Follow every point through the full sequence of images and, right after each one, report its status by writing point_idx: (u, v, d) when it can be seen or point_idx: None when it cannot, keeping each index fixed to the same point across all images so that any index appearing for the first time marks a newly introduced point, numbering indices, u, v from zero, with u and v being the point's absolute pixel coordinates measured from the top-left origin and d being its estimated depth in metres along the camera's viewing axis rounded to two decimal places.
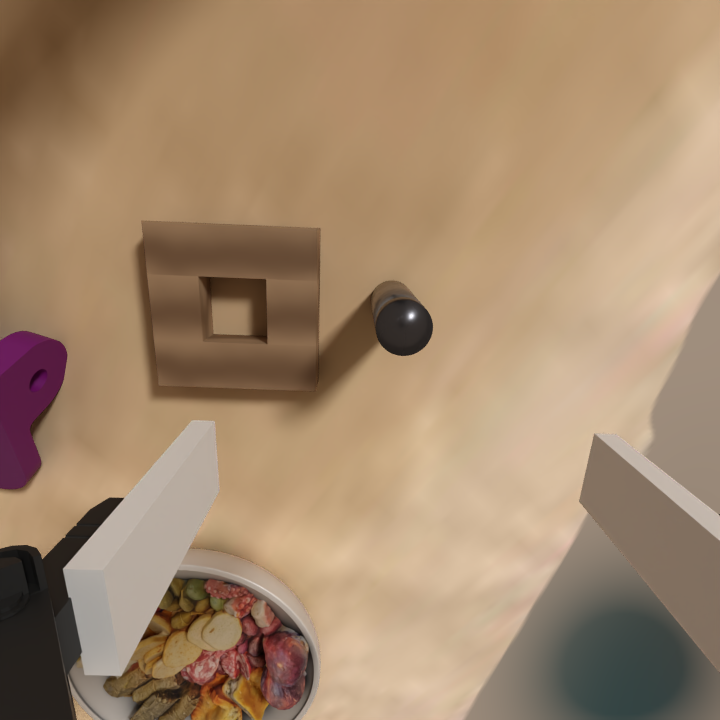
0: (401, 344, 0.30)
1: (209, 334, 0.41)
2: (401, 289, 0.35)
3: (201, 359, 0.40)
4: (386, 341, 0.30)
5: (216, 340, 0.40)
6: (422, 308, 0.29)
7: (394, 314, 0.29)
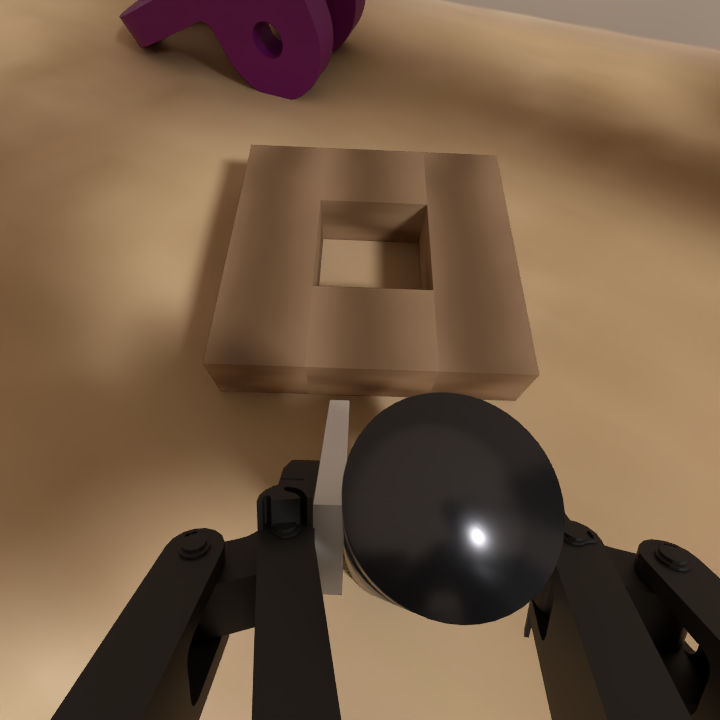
0: (387, 484, 0.08)
1: (326, 225, 0.25)
2: None
3: (290, 195, 0.24)
4: (397, 428, 0.08)
5: (319, 222, 0.24)
6: (544, 568, 0.07)
7: (500, 454, 0.08)
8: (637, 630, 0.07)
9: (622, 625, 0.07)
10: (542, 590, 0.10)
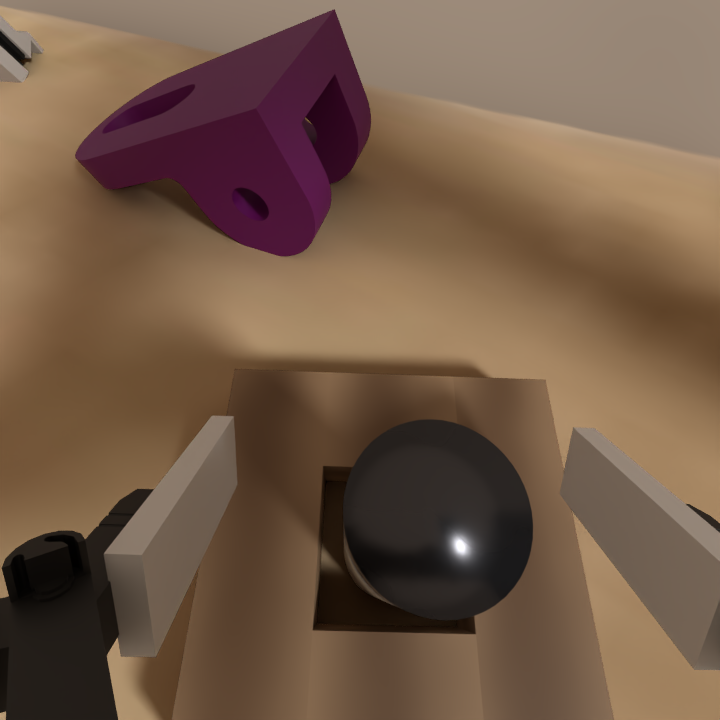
0: (382, 501, 0.09)
1: (329, 475, 0.20)
2: None
3: (283, 458, 0.18)
4: (391, 451, 0.09)
5: (322, 493, 0.18)
6: (514, 572, 0.08)
7: (479, 474, 0.09)
8: None
9: None
10: None
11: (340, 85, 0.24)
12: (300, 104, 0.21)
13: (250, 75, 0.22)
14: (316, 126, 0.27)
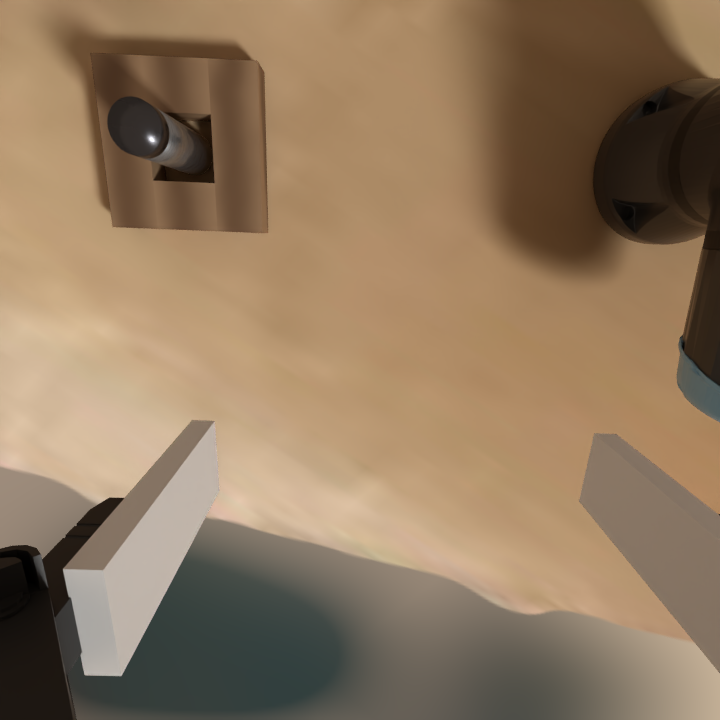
0: (118, 123, 0.32)
1: None
2: (189, 145, 0.37)
3: None
4: (119, 107, 0.31)
5: None
6: (155, 144, 0.32)
7: (146, 115, 0.32)
8: None
9: None
10: None
11: None
12: None
13: None
14: None
